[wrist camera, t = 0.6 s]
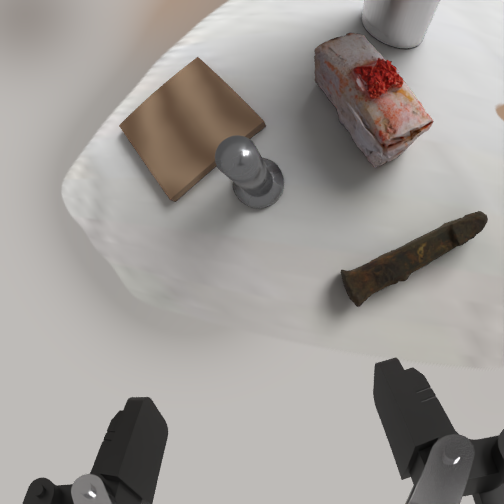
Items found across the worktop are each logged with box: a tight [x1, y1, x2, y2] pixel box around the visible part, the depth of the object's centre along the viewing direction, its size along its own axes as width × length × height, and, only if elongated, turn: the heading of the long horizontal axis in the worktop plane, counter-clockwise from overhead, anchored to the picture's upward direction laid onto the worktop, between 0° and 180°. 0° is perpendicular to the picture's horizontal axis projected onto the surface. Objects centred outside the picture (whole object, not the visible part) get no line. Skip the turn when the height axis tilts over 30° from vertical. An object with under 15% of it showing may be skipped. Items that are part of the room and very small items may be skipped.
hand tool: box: [341, 211, 488, 307], centre depth 29 cm, size 19×4×5 cm, turn 113°
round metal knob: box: [215, 135, 284, 208], centre depth 29 cm, size 6×6×11 cm
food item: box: [314, 33, 433, 168], centre depth 27 cm, size 14×8×10 cm, turn 30°
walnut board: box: [119, 57, 266, 202], centre depth 35 cm, size 14×14×2 cm
